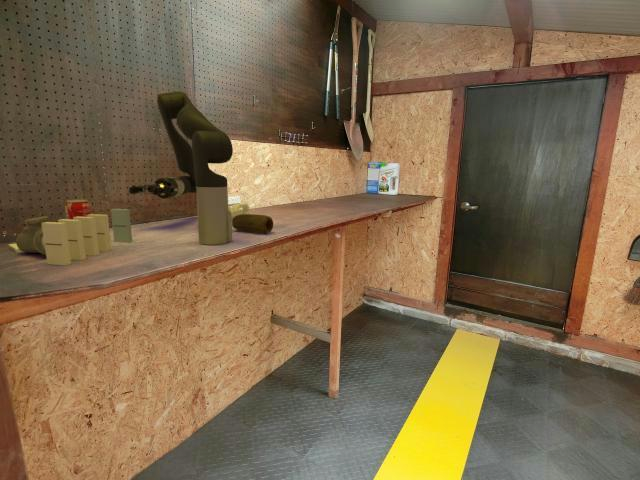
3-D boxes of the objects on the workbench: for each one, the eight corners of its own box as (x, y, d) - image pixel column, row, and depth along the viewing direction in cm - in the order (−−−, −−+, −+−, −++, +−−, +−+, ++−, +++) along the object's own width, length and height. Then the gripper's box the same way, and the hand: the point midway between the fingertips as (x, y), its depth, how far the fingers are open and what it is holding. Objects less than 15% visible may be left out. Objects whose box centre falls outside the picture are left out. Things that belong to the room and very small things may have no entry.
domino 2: (68, 257, 92) (63, 219, 90) (86, 258, 91) (81, 219, 89) (63, 259, 90) (57, 220, 88) (80, 260, 90) (75, 220, 87)
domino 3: (82, 253, 96) (78, 216, 94) (99, 254, 95) (95, 217, 93) (77, 254, 95) (72, 217, 92) (94, 255, 94) (90, 218, 92)
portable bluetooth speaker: (275, 232, 129) (275, 214, 128) (265, 236, 123) (265, 216, 121) (241, 229, 135) (240, 211, 133) (229, 232, 129) (229, 213, 127)
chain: (241, 215, 167) (241, 202, 166) (252, 216, 165) (252, 203, 163) (197, 225, 140) (197, 210, 138) (210, 227, 138) (210, 211, 136)
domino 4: (95, 249, 101) (91, 214, 98) (111, 250, 100) (107, 214, 98) (91, 250, 99) (86, 214, 97) (107, 251, 98) (103, 215, 96)
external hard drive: (8, 249, 101) (60, 242, 110) (16, 254, 96) (70, 246, 105) (7, 244, 100) (59, 237, 110) (15, 248, 96) (69, 241, 105)
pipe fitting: (76, 251, 97) (65, 213, 94) (45, 260, 89) (32, 220, 87) (47, 251, 101) (36, 215, 99) (16, 260, 94) (2, 222, 91)
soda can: (66, 237, 114) (60, 200, 112) (91, 234, 119) (86, 198, 117) (72, 241, 110) (66, 202, 107) (98, 238, 115) (93, 200, 112)
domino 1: (53, 262, 88) (47, 221, 85) (71, 263, 87) (65, 222, 85) (47, 264, 86) (41, 223, 84) (65, 265, 85) (59, 223, 83)
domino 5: (117, 240, 112) (114, 208, 110) (132, 241, 111) (129, 209, 109) (114, 241, 110) (110, 209, 108) (128, 242, 110) (125, 210, 107)
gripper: (151, 176, 134) (121, 178, 119) (186, 178, 132) (160, 180, 117) (152, 196, 136) (123, 201, 120) (187, 198, 134) (162, 203, 118)
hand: (141, 191), depth 118 cm, fingers open, 8 cm apart
